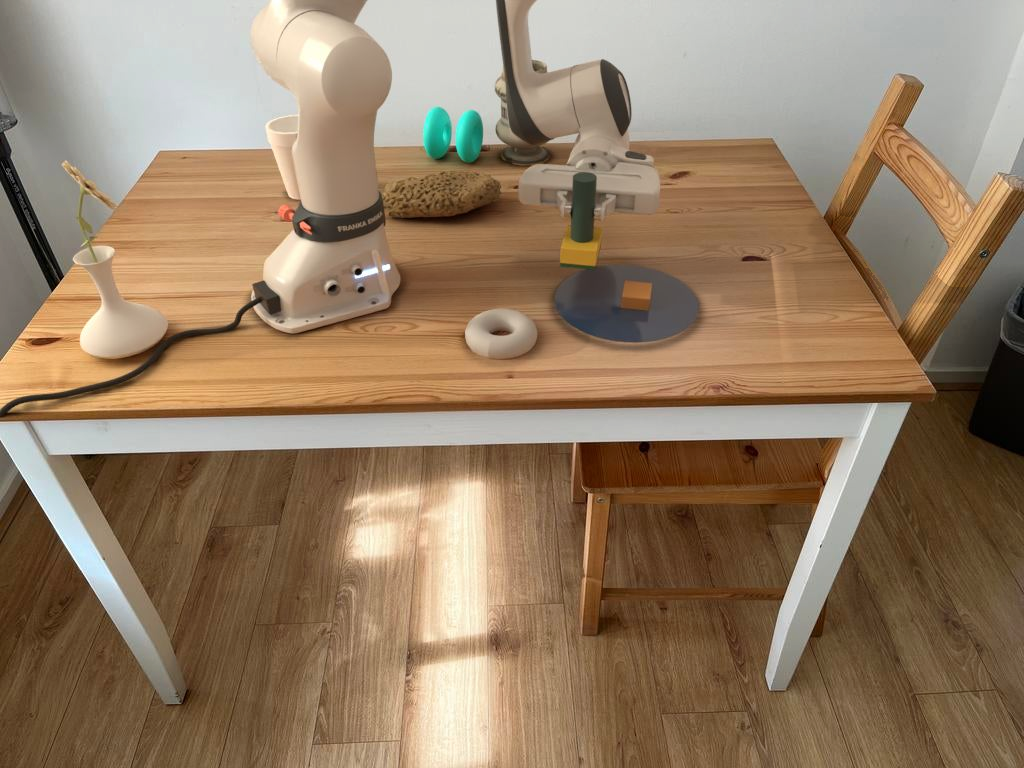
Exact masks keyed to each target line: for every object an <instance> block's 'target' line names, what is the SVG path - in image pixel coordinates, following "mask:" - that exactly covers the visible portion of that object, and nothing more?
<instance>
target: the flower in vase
mask: <svg viewBox="0 0 1024 768" xmlns="http://www.w3.org/2000/svg"><path fill="white" fill-rule="evenodd" d="M61 166H62V167H63V169H64V170H65V171H66V172H67V174H68V175H69V176H70V177H71V178H72V179H74V181H75V182H76V183H77V184H79V185H80V186H79V190H80V195H79V200H78V211H77V215H78V216H76V220H77V222H78V225H79V227H80V230H81V233H82V235H83V238H84V242H83V243H82V244H81V245H80V248H81V247H84V246H86V245H87V247H85V248H84V249H81V250H79V251H77V252H76V254H74V256H72V261H73V263H75V264H76V265H78V266H79V267H81V268H82V269H84V270H85V272H86V273H88V275H89V276H90V278H91V280H92V281H93V283H94V284H95V287H96V289H97V291H98V293H99V296H100V301H101V305H100V308H99V309H98V311H96V312H95V313H94V314H93V315H92V316H91V318H89V320H88V321H87V322H86V323H85V325H84V327H83V328H82V330H81V332H80V335H79V345H80V347H81V349H82V350H83V351H84V352H85V353H87V354H89V355H91V356H93V357H96V358H99V359H106V360H109V359H110V360H111V359H113V360H115V359H122V358H127V357H128V358H129V357H131V356H135V355H138V354H141V353H143V352H146V351H147V350H150V349H151V348H153V347H154V346H155V345H157V344H158V343H159V342H160V341H161V340H162V339H163V338H164V337H165V335H166V333H167V330H168V327H169V321H168V319H167V317H166V316H165V315H164V314H163V313H162V312H161V311H160V310H159V309H157V308H154V307H151V306H149V305H146V304H142V303H137V302H132V301H129V300H126V299H124V298H123V297H122V295H121V294H120V292H119V290H118V287H117V285H116V282H115V277H114V274H113V260H114V257H115V255H116V250H115V248H114V247H112V246H109V245H95V246H94V245H93V246H92V245H91V242H92V241H93V240H95V239H96V238H98V237H99V236H100V235H98V234H97V235H90V236H89V238H88V236H87V233H89V234H93V233H94V229H93V227H92V225H91V224H89V222H88V221H86V219H85V218H84V217H83V216H82V211H83V209H82V208H83V202H84V196H88V195H89V196H90V195H91V196H92V197H94V199H96V201H98V202H99V203H101V204H102V205H103V206H104V207H106V208H107V209H109V210H112V211H115V210H117V208H118V207H119V206H118V204H116V203H115V202H113V201H112V198H111V196H109V195H108V194H106V193H104V192H103V191H101V190H99V189H97V184H96V183H95V182H93V180H91V179H88V180H87V179H86V177H85V176H84V175H83V173H82V172H81V171H80V170H79V169H78V167H76V166H73V165H71V163H70V162H69V161H68V160H64V161H63V162H62V163H61ZM86 232H87V233H86Z"/></svg>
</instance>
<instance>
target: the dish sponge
mask: <svg viewBox="0 0 1024 768" xmlns="http://www.w3.org/2000/svg"><path fill="white" fill-rule="evenodd" d="M596 183H597V176H596V175H595V174H592V173H588V172H580V173H576V174H575V175H573V184H572V211H571V218H570V224H567V227H566V231H565V233H564V236H563V239H562V241H561V244H560V245H561V246H560V255H559V256H560V257H559V267H560V268H570V269H581V270H585V269H590V270H596V267H597V266H598V261H599V257H600V252H601V249H602V239H603V238H602V237H603V227H602V226H601V227H600V226H595V220H594V208H595V200H596Z"/></svg>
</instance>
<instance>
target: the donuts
mask: <svg viewBox="0 0 1024 768" xmlns="http://www.w3.org/2000/svg"><path fill="white" fill-rule="evenodd" d="M452 135H453V126H452V120H451V117H450V115H449V113H448V111H447V110H445V108H443V107H441V106H434V107H432V108H431V109H430V110H429V111H428V112H427V114H426V116H425V120H424V124H423V131H422V141H423V147H424V150H425V153H426V154H427V155H428V156H429V158H431V159H434V160H439V159H442V158H443V157H444V156H445V155H446V154H447V153H448V151H449V149H450V146H451V143H452V138H453V137H452ZM483 140H484V123H483V119H482V116H481V114H480V113H479V112H478V111H476V110H475V109H468V110H466V111H464V112H463V114H461V116H460V118H459V119H458V122H457V125H456V130H455V147H456V153H457V155H458V156H459V158H460V159H461V161H463V162H464V163H473V162H475V161H476V160H477V159H478V158H479V156H480V154H481V151H482V147H483Z"/></svg>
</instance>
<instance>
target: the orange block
mask: <svg viewBox="0 0 1024 768" xmlns="http://www.w3.org/2000/svg"><path fill="white" fill-rule="evenodd" d="M651 289H652V283H644V282H634V281H625V283H624V289H623V294H622V303H621V308H625V309H635V310H645V311H649V306H650V298H651Z"/></svg>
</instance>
